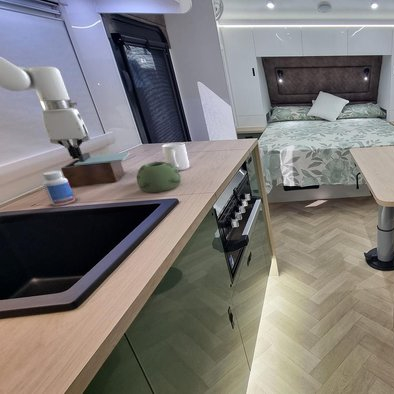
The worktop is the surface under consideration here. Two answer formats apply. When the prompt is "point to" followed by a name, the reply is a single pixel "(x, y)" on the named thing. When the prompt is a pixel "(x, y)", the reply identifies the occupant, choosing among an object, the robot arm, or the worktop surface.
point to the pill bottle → (58, 188)
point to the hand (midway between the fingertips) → (77, 157)
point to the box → (92, 173)
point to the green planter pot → (158, 177)
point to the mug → (176, 155)
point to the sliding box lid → (100, 158)
